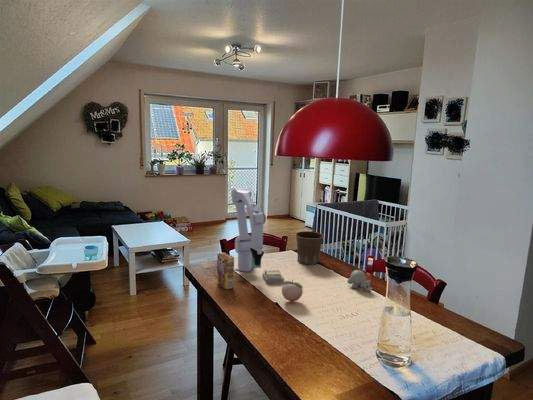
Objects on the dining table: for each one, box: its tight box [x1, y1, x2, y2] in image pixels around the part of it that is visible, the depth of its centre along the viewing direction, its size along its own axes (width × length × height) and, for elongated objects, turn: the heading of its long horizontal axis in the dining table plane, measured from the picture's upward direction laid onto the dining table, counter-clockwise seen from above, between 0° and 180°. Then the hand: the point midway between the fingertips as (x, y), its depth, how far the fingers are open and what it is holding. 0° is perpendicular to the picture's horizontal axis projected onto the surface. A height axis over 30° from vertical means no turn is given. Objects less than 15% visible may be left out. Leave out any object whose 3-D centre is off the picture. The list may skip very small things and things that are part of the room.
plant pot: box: [295, 230, 325, 266], centre depth 198 cm, size 16×16×16 cm
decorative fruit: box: [281, 279, 304, 303], centre depth 148 cm, size 9×8×10 cm
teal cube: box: [251, 258, 262, 269], centre depth 169 cm, size 4×4×4 cm
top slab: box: [264, 267, 282, 279], centre depth 172 cm, size 7×7×2 cm
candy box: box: [216, 252, 235, 290], centre depth 163 cm, size 9×4×15 cm, turn 39°
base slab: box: [261, 272, 285, 285], centre depth 172 cm, size 9×9×2 cm
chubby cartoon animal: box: [347, 269, 373, 293], centre depth 164 cm, size 7×12×8 cm, turn 37°
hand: (256, 263), depth 169 cm, fingers closed on teal cube, 4 cm apart
